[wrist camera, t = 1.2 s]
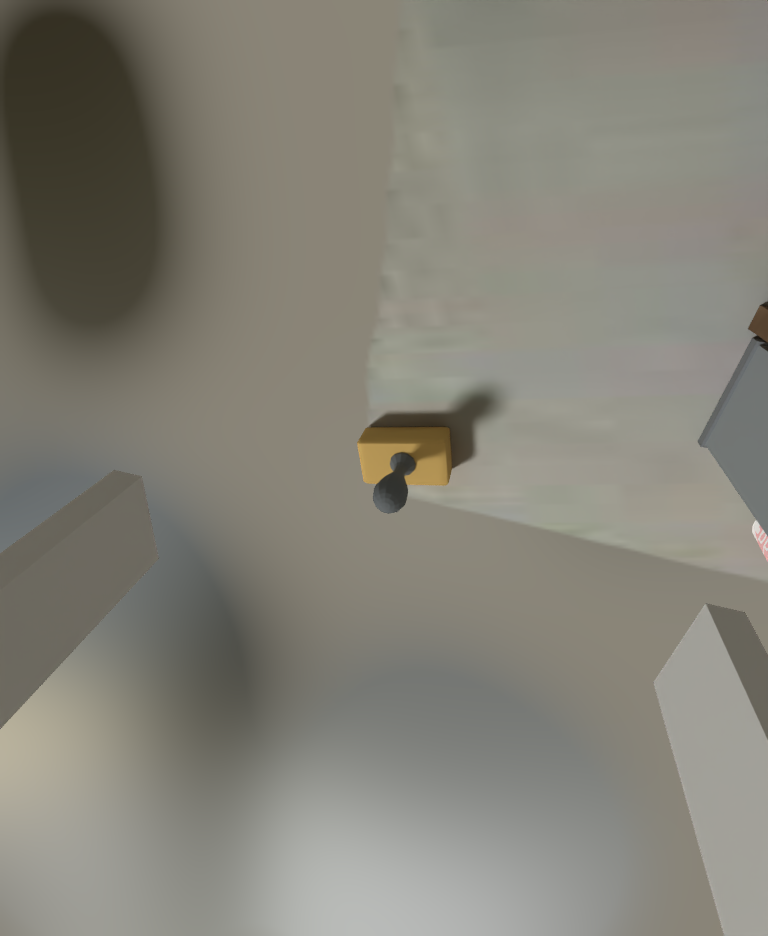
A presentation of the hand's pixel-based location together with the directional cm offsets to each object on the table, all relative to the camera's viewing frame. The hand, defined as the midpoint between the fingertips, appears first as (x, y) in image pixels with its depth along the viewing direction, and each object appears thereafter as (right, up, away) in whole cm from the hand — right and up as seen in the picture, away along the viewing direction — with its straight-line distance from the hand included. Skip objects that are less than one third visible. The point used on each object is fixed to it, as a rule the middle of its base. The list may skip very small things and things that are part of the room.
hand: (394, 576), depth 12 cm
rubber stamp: (+3, +5, +45) cm, 46 cm away
